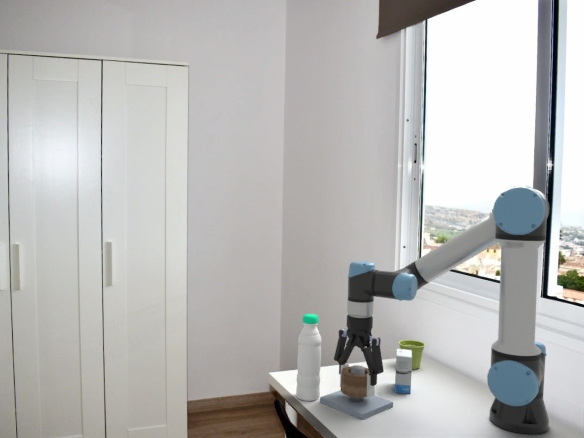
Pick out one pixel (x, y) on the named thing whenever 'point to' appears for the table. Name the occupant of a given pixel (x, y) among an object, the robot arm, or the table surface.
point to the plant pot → (413, 351)
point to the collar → (354, 383)
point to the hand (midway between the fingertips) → (356, 390)
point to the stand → (357, 401)
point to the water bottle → (309, 360)
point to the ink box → (403, 371)
